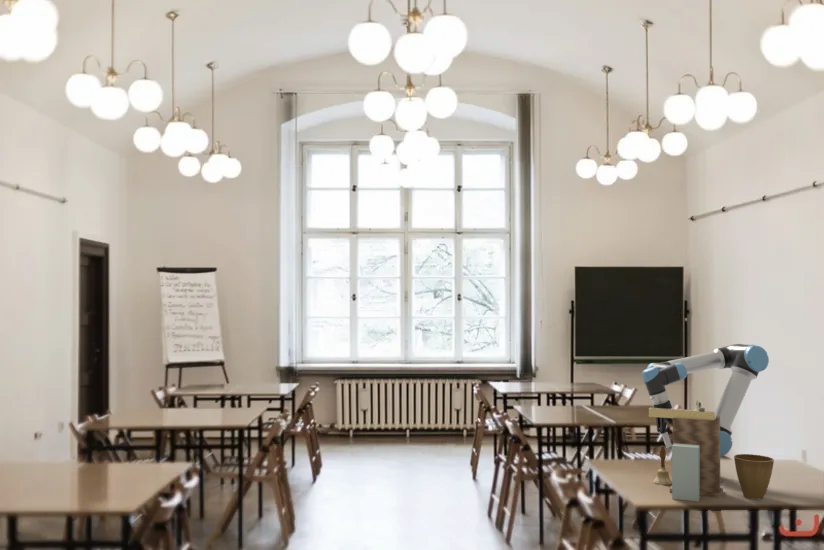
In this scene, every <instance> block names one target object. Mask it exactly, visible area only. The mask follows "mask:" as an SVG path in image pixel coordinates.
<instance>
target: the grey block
mask: <svg viewBox="0 0 824 550" xmlns="http://www.w3.org/2000/svg"><path fill="white" fill-rule="evenodd" d="M671 481H672V484H671V486H672V493H671V499H672V500H679V501H680V500H681V501H691V502H699V501H700V498H701V495H700V445H692V444H678V443H674V444H673V443H672V446H671Z"/></svg>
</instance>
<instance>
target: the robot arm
mask: <svg viewBox="0 0 824 550" xmlns="http://www.w3.org/2000/svg"><path fill="white" fill-rule="evenodd" d="M769 360H770V359H769V356H768V352H767V351H766V349H765V348H763V347H762V346H760V345H756V344H742V343H737V344H730V345H726V346H722V347H719V348H714V349H713V351H710V352H706V353H700V354H697V355H690V356H687V357H682V358H678V359H672V360H668V361H662V362H652V363H649V364H648V366H647V367H646V369H644V370H642V372H641V376H642V379H643V383H644V384H645V386H646V390H647V392H648V394H649V395H648V396H649V400H651V403H652V404H653V405H652V406H653V407H652V408H665V409H673V406H672V403H671V400H670V398H669V394H668V392H667V389H666V386H669V385H672V384H673V383H676V382H679V381H681V380H684V379H686V378H687V376H688V374H693V373H699V372H702V371H706V370H712V369H718V370H722V369H723V370H724V369H731V372H732V373H731V375H730V377H729V380H728V382H727V385H726V386H725V389H724V391H723V392H722V395H721V397H720V399H719V402H718V404H717V406H716V409H715V410H714V411H715V419H716V416H720V458H721V457H723V456H726V455H727V454H728V453H729V452H730V451H731V449H732V447H733V441H732V440H733V439H732V433H733V431H732V429H731V427H732V425H733V423H734V421H735V419H736V416H737V414H738V412H739V409H740V407H741V405H742V402H743V400H744V397H745V396H746V393H747V391H748V389H749V387H750V384H751V382H752V380H754V379H755V380H756V379H757V377H758V376H759V373H760V372H763V371H765V370H766V369H767V368H768V366H769V363H770V361H769ZM655 422H656V430H657V433H659V434H661V436H662V440H663V442H664V445H665V449H669V448H672V445H673V443H672V441H671V439H670V435H669V433H668V430H667V426H668V425H670V426H671V427H672V428H673V418H661V417H655ZM667 424H668V425H667Z"/></svg>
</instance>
